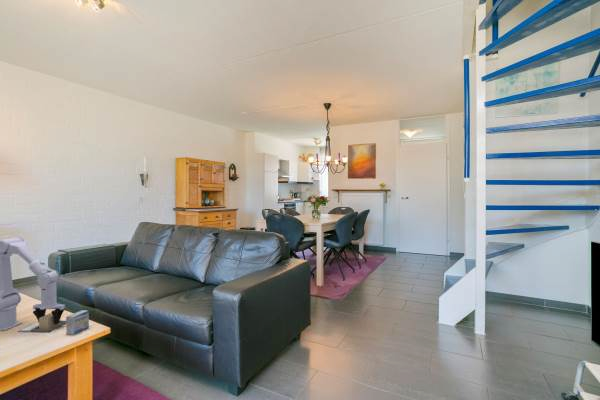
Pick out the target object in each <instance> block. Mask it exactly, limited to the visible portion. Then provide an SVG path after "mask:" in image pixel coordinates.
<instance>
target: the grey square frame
mask: <svg viewBox="0 0 600 400" xmlns="http://www.w3.org/2000/svg"><path fill="white" fill-rule="evenodd" d="M65 324H66V320H60V321H59V324H58V325H56V326H54V327H52V328H50V329H39V326H37V327H35V328H33V329H31V332H30V333H50V332H53V331H54V330H57V329H58V328H60V327H62V326H64V325H65Z"/></svg>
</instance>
